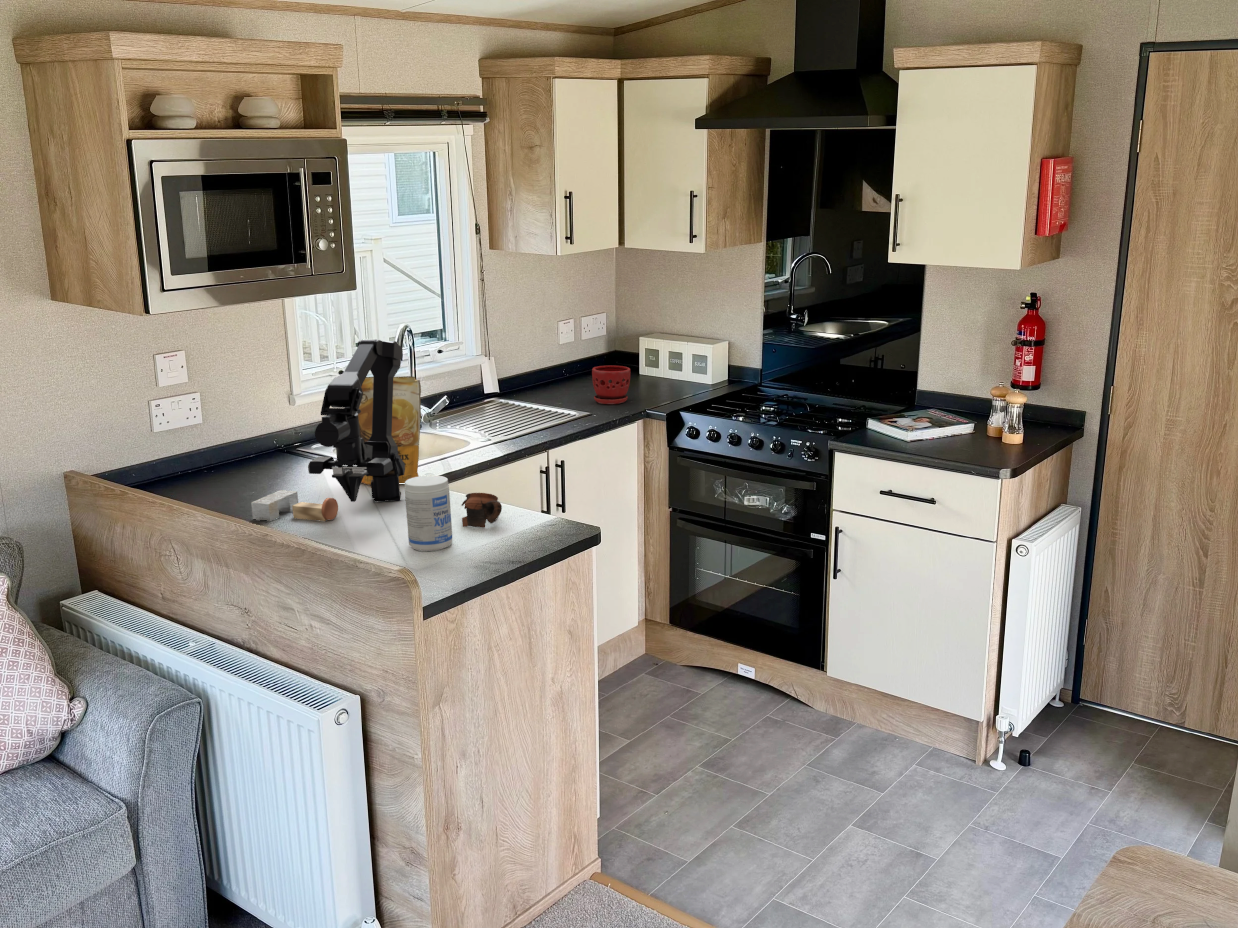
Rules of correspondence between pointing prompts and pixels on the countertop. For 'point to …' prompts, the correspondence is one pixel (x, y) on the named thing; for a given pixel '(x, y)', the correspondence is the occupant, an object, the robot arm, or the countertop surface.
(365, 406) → the pancake mix bag
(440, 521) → the supplement tub
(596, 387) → the plant pot
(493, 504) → the pottery mug
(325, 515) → the lynch pin
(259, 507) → the block
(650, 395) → the countertop surface
